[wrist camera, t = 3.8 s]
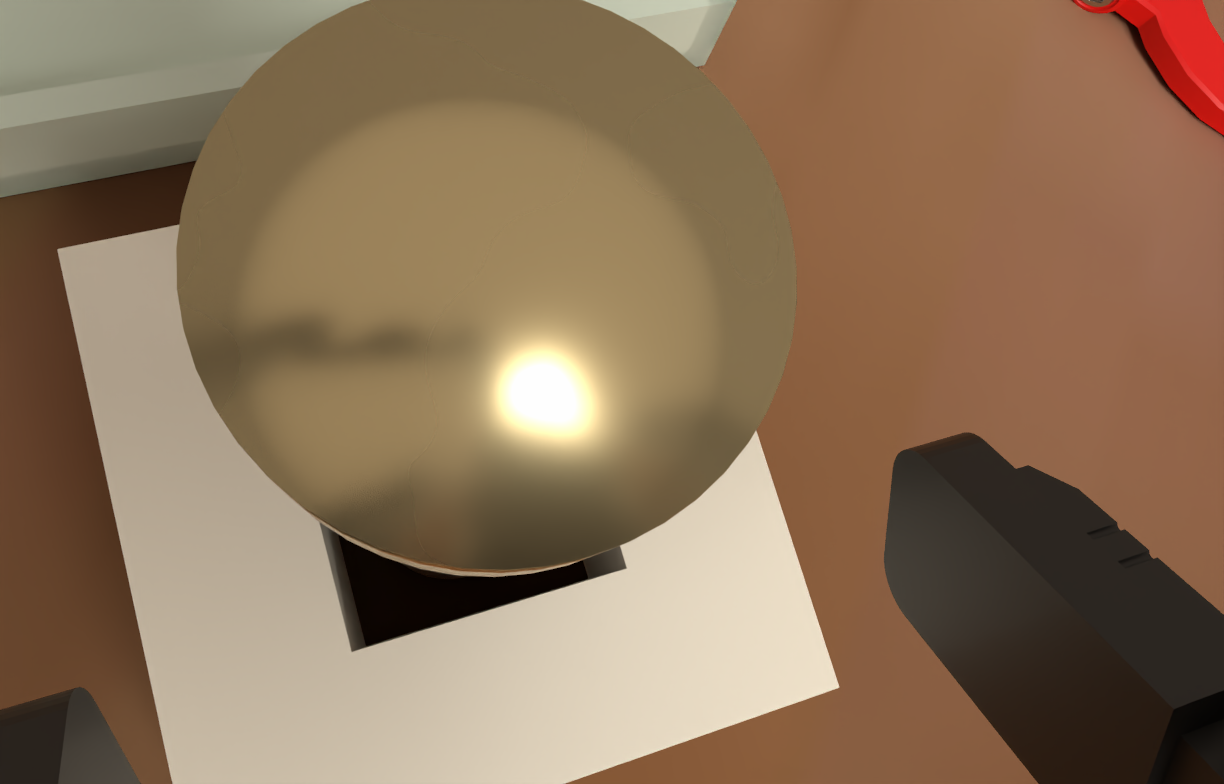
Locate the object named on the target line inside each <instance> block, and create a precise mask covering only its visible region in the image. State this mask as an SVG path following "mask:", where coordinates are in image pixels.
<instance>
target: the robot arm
mask: <svg viewBox="0 0 1224 784" xmlns="http://www.w3.org/2000/svg"><path fill="white" fill-rule="evenodd" d="M884 565H885V572H886V576H887V580H888V584H889V587H890V590H891V592H892V594H893V597H894V599H895V601H896V603H897V605H898V606H899V608H900V610H901V611H902V612H903V614H904V615H905V617H906V618H907V619H908V620H909V622H910V623H911V624H912V625H913V627H914V628H915V629H916V630H917V632H918V633H919V634H920V635H921V637H922V638H923V639H924V640H925V642H926V643H927V644H928V645H929V647H930V648H931V649H932V650H933V652H934V653H935V654H936V655H937V657H938V658H939V659H940V661H941V662H942V663H943V664H944V666H945V667H946V668H947V669H948V671H949V672H950V673H951V674H952V676H953V677H954V678H955V679H956V681H957V682H958V683H959V684H960V686H961V687H962V688H963V689H964V691H965V692H966V693H967V694H968V696H969V697H970V698H971V699H972V701H973V702H974V703H975V704H976V706H977V707H978V708H979V709H980V711H981V712H982V713H983V714H984V716H985V717H986V718H987V719H988V721H989V722H990V723H991V724H992V726H993V727H994V728H995V730H996V731H997V732H998V733H999V735H1000V736H1001V737H1002V738H1003V740H1004V741H1005V742H1006V743H1007V745H1008V746H1009V747H1010V748H1011V750H1012V751H1013V752H1014V753H1015V755H1016V756H1017V757H1018V758H1019V760H1020V761H1021V762H1022V763H1023V765H1024V766H1025V767H1026V768H1027V770H1028V771H1029V772H1030V773H1031V775H1032V776H1033V777H1034V778H1035V780H1036V781H1037V782H1038V783H1039V784H1224V615H1223V614H1222V613H1221V612H1220V611H1219V610H1217V609H1216V608H1215V607H1214V606H1213V605H1212V604H1211V603H1209V602H1208V601H1207V600H1206V599H1205V598H1204V597H1202V596H1201V595H1200V594H1199V593H1198V592H1197V591H1196V590H1194V589H1193V588H1192V587H1191V586H1190V585H1189V584H1187V583H1186V582H1185V581H1184V580H1183V579H1182V578H1180V577H1179V576H1178V575H1177V574H1176V573H1175V572H1174V571H1172V570H1171V569H1170V568H1169V567H1168V566H1167V565H1165V564H1164V563H1163V562H1162V561H1161V560H1160V559H1159V558H1155V559H1153V558H1152V557H1151V556H1150V554H1149V550H1148V549H1147V548H1146V547H1145V546H1144V545H1142V544H1141V543H1140V542H1139V541H1138V540H1137V539H1135V538H1134V537H1133V536H1132V535H1131V534H1130V533H1128V532H1127V531H1126V530H1122V531H1121V530H1119V528H1118V526H1117V522H1116V521H1115V520H1113V519H1112V518H1111V517H1110V516H1109V515H1108V514H1107V513H1105V512H1104V511H1103V510H1102V509H1101V508H1100V507H1098V506H1097V505H1096V504H1095V503H1094V502H1093V501H1092V500H1090V499H1089V498H1088V497H1087V496H1086V495H1085V494H1083V493H1082V492H1081V491H1080V490H1079V489H1077V488H1075V487H1073V486H1071V485H1069V484H1066V483H1064V482H1062V481H1060V480H1058V479H1056V478H1054V477H1052V476H1050V475H1048V474H1045V473H1043V472H1041V471H1039V470H1037V469H1035V468H1033V467H1031V466H1029V465H1028V466H1024V467H1021V468H1018V469H1015V468H1014V467H1013V466H1012V465H1011V464H1010V463H1009V462H1007V461H1006V460H1005V459H1004V458H1003V457H1002V456H1001V455H1000V454H999V453H998V452H996V451H995V450H994V449H993V448H992V447H991V446H990V445H989V444H988V443H987V442H985V441H984V440H983V439H982V438H980V437H979V436H977V435H975V434H972V433H961V434H958V435H954V436H951V437H947V438H944V439H941V440H937V441H934V442H930V443H927V444H923V445H920V446H917V447H913V448H910V449H906V450H903V451H901V452H900V453H899V454H898V455H897V457H896V459H895V462H894V466H893V474H892V483H891V493H890V503H889V513H888V522H887V532H886V542H885V552H884ZM0 784H140V782H139V780H138V778H137V776H136V775H135V773H134V771H133V769H132V767H131V766H130V764H129V762H128V760H127V758H126V757H125V755H124V753H123V751H122V749H121V748H120V746H119V744H118V742H117V740H116V739H115V737H114V735H113V733H112V731H111V729H110V728H109V726H108V724H107V722H106V720H105V719H104V717H103V715H102V713H101V711H100V710H99V708H98V706H97V704H96V702H95V701H94V699H93V698H92V696H91V695H90V693H89V692H88V691H87V690H85V689H84V688H81V687H78V688H74V689H71V690H67V691H64V692H61V693H57V694H54V695H50V696H47V697H43V698H40V699H36V700H33V701H30V702H26V703H23V704H19V705H16V706H12V707H9V708H5V709H2V710H0Z"/></svg>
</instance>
